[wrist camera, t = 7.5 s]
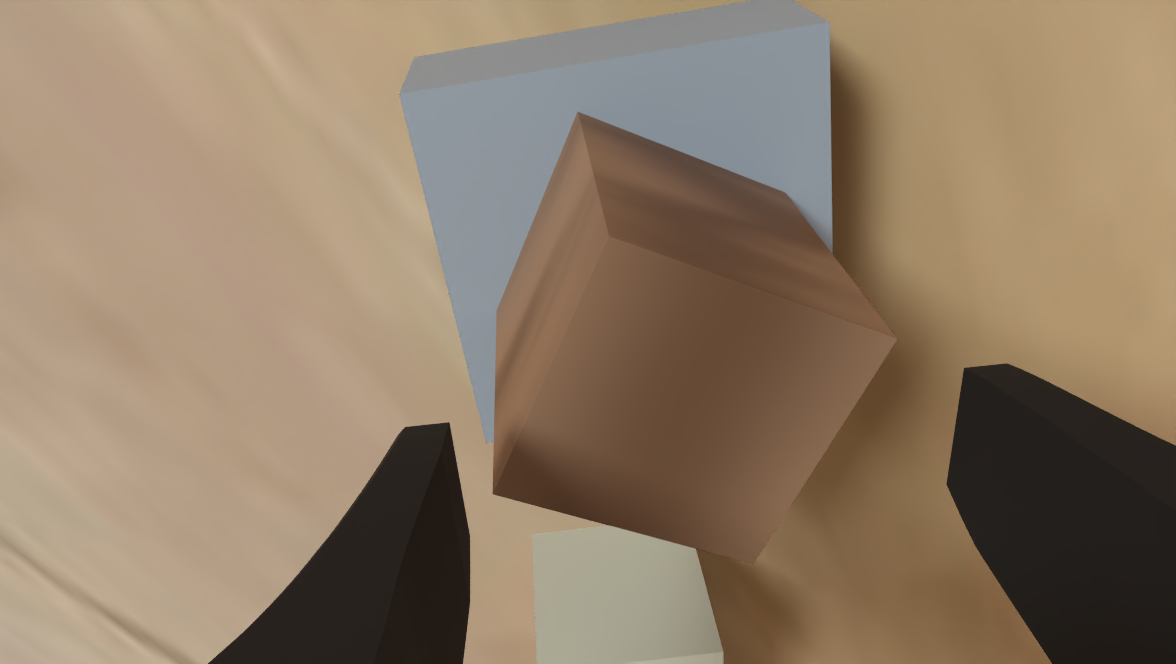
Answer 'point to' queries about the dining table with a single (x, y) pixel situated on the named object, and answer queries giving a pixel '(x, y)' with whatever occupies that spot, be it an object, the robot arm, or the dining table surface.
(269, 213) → the dining table surface
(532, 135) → the base block
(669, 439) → the walnut block
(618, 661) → the sage block
